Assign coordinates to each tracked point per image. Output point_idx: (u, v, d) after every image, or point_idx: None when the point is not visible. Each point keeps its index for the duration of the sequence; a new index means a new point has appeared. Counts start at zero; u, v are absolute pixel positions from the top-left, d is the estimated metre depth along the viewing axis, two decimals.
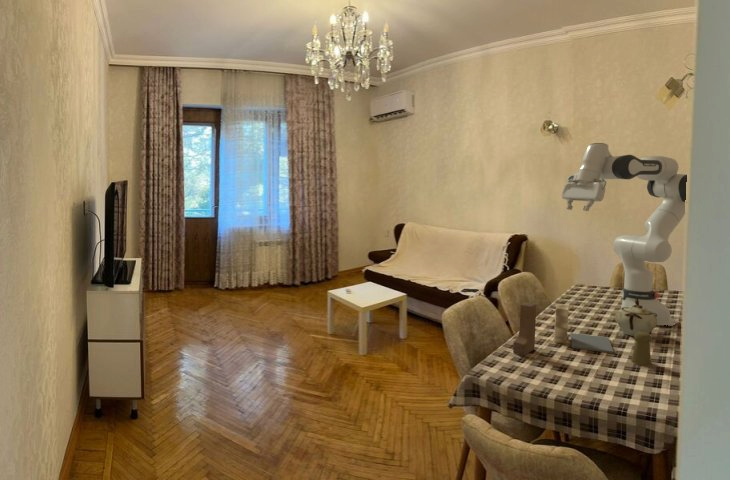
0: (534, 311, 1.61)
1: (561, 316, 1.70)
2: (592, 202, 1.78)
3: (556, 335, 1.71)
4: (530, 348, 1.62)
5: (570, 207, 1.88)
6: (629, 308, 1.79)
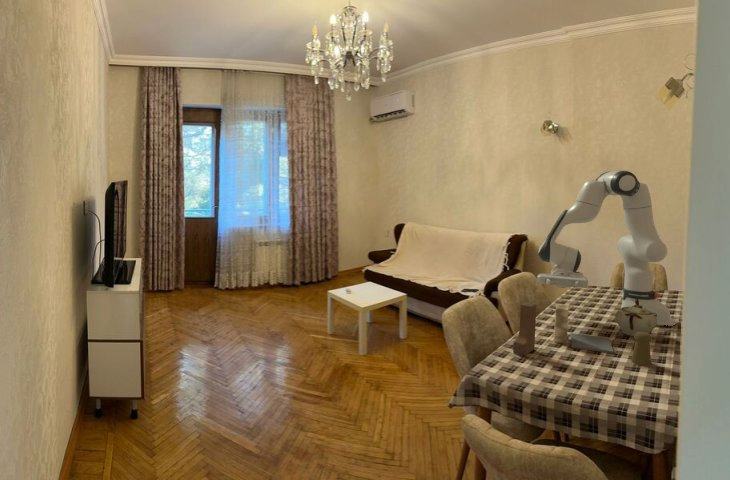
0: (534, 311, 1.61)
1: (561, 316, 1.70)
2: (546, 280, 1.88)
3: (556, 335, 1.71)
4: (530, 348, 1.62)
5: (572, 285, 1.82)
6: (629, 308, 1.79)
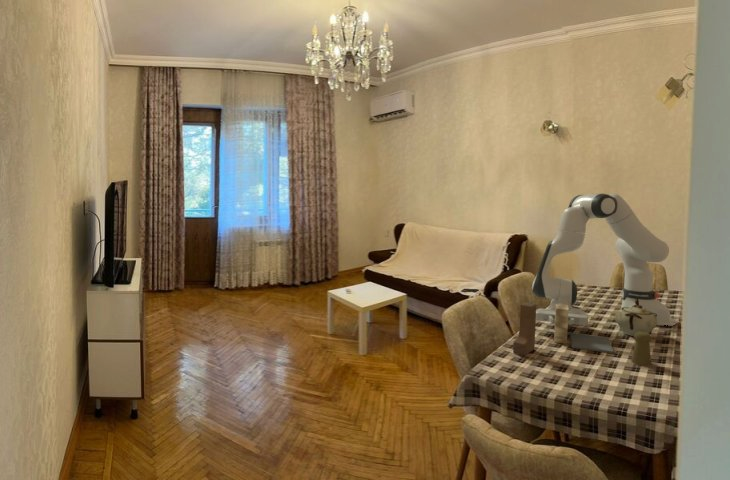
0: (534, 311, 1.61)
1: (561, 316, 1.70)
2: (548, 317, 1.78)
3: (556, 335, 1.71)
4: (530, 348, 1.62)
5: None
6: (629, 308, 1.79)
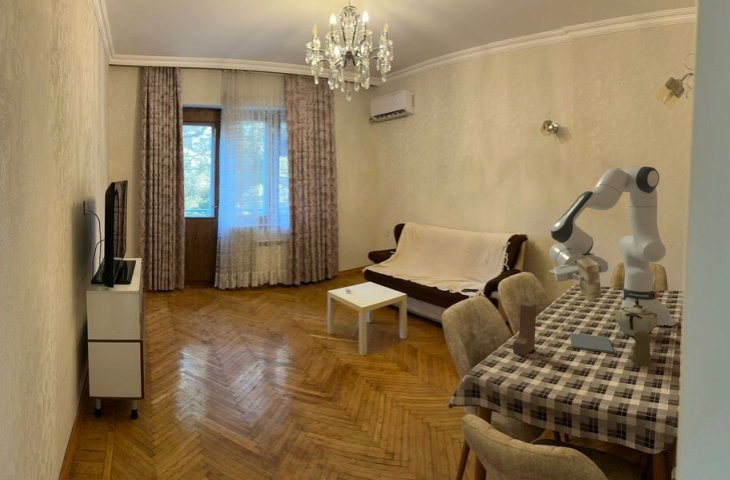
0: (534, 311, 1.61)
1: (592, 272, 1.60)
2: (572, 275, 1.68)
3: (590, 292, 1.63)
4: (530, 348, 1.62)
5: None
6: (629, 308, 1.79)
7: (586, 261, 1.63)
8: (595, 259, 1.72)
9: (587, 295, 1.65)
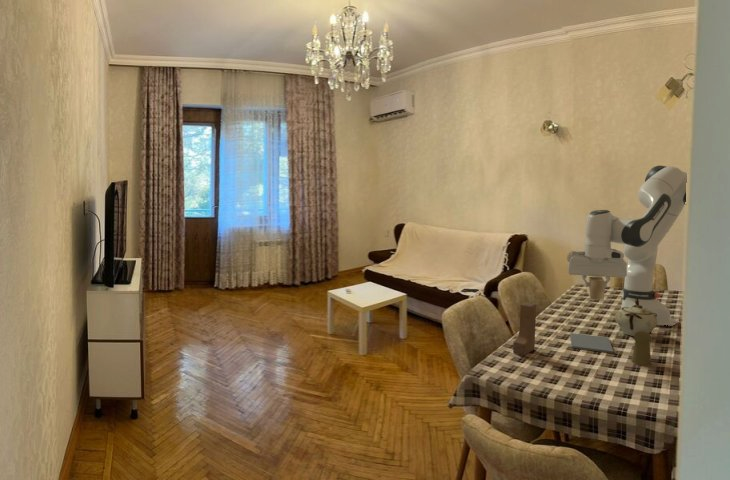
0: (534, 311, 1.61)
1: None
2: (582, 277, 1.68)
3: None
4: (530, 348, 1.62)
5: None
6: (629, 308, 1.79)
7: (597, 288, 1.61)
8: (619, 264, 1.61)
9: (587, 287, 1.74)
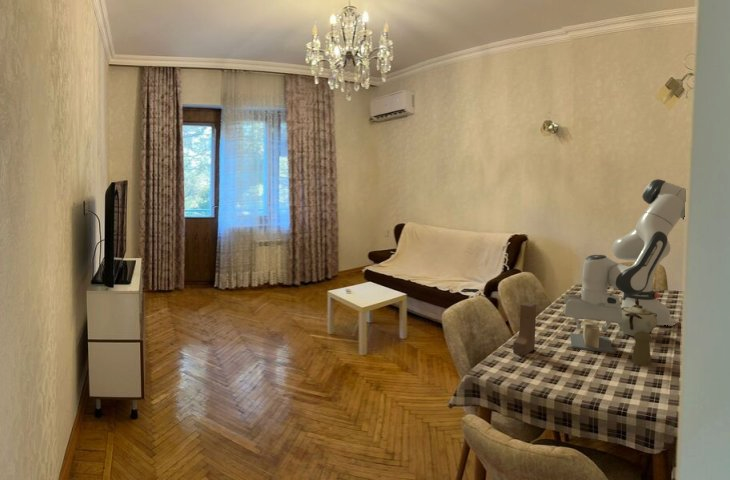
0: (534, 311, 1.61)
1: None
2: (574, 319, 1.71)
3: None
4: (530, 348, 1.62)
5: (602, 328, 1.68)
6: (629, 308, 1.79)
7: (592, 336, 1.64)
8: (615, 309, 1.64)
9: (583, 332, 1.77)
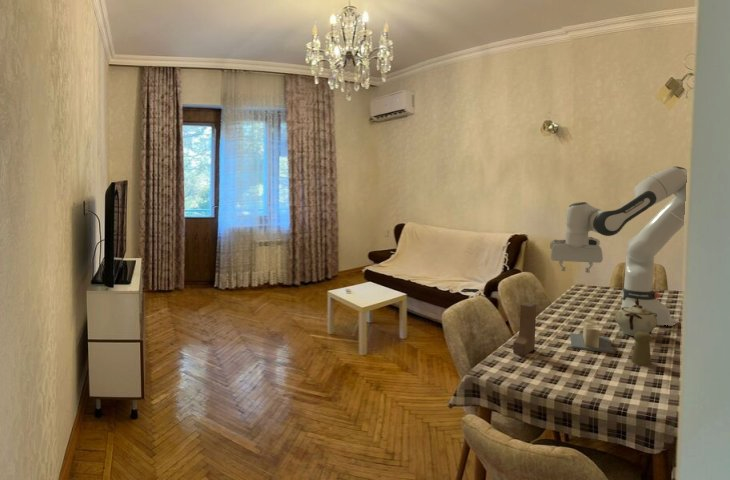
0: (534, 311, 1.61)
1: None
2: (559, 262, 1.88)
3: None
4: (530, 348, 1.62)
5: None
6: (629, 308, 1.79)
7: (592, 336, 1.64)
8: (596, 250, 1.80)
9: (583, 332, 1.77)
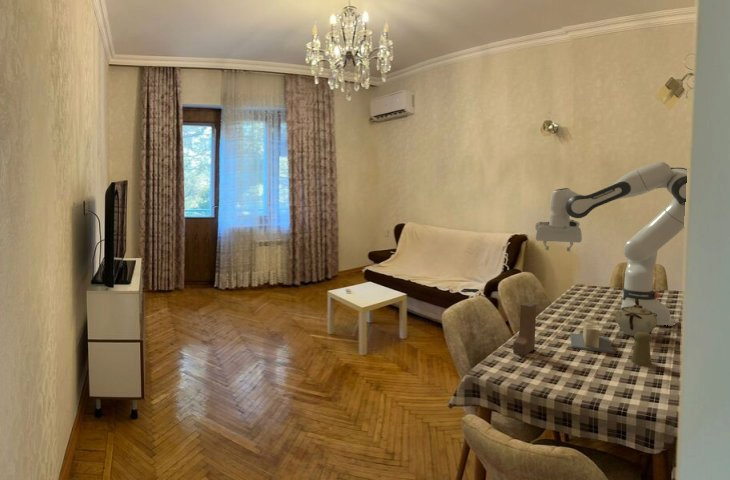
0: (534, 311, 1.61)
1: None
2: (543, 242, 2.08)
3: None
4: (530, 348, 1.62)
5: None
6: (629, 308, 1.79)
7: (592, 336, 1.64)
8: (576, 231, 2.00)
9: (583, 332, 1.77)
